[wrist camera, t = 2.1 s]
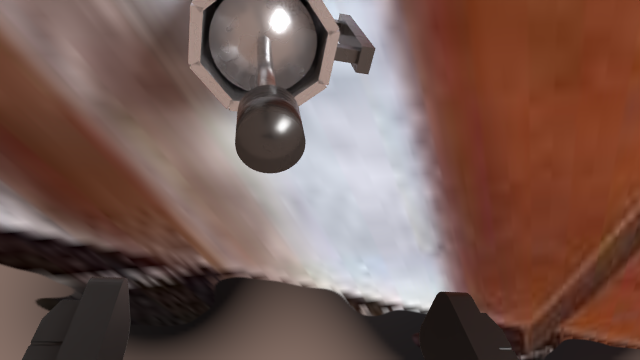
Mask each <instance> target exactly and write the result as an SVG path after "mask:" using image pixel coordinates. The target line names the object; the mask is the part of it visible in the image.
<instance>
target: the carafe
mask: <svg viewBox="0 0 640 360" xmlns="http://www.w3.org/2000/svg"><path fill="white" fill-rule="evenodd" d="M222 1H223V0H193V1H192V3H191V5H190V24H189V51H188V64H190V66H189V68H190V69H191V70H192V71H193V72H194V73H195V74H196V75H197V76H198V78H199V79H200V80H201V81H202V82H203V83H204V84H205V85H206V87H207V88H208V89H209V90H210V91H211V92H212V93H213V94H214V95H215V97H216V98H217V99H218V100H219V101H220V102H221V103H222V104H223V106H224V107H225V108H226V109H227V108H228V107H229V110H231V111H238V105H239V103H240V101H241V99H242V97H243V96H244V95H245V94H246V93H247V92H248V91H247V90H244V89H242V88H240V87H238V86H236V85H235V84H233V83H232V82H231V81H229V80H228V79H227V78H226V77H225V76H224V75H223V74H222V73H221V71H220V70H219V69H218V67H217V65H216V63H215V62H214V59H213V57H212V54H211V50H210V45H209V31H210V25H211V21H212V18H213V15H214V13H215V11H216V9H217V7H218V6H219V4H220V3H221V2H222ZM300 1H301V2H302V3H303V4H304V6H305V7H306V8H307V10H308V12H309V14H310V16H311V18H312V20H313V23H314V26H315V30H316V36H317V47H316V53H315V57H314V60H313V62H312V65H311V67H310V68H309V70H308V72H307V73H306V74H305V75H304V77H303V78H302V79H301V80H300V81H298V82H297V83H296V84H294V85H293V86H291V87H289V88H287V89H285V90H287V91H288V92H290V93H291V94H292V95H293V97H294V98H295V100H296V101H297V104H298V107H299V106H300V105H302V104H303V103H304V102H306V101H307V100H309V99H310V98H312V97H313V96H315V95H316V94H318V93H319V92H321V91H322V90H324V89H325V88H327V87H326V85H328V84H329V80H330V75H331V71H332V66H333V62H334V60H336V61H342V62H348V63H351V65H352V67H353V68H354V70H355V72H357V73H363V74H368V73H369V70H370V66H371V62H372V59H373V55H374V51H375V47H374V46H373V45H372V44H371V42H370V41H369V40H368V38H367V37H366V36H365V34H364V33H363V32H362V30H361V29H360V28H359V27H358V25H357V24H356V23H355V21H354V20H353V19H352V17H351V16H350V15H345V14H340V15H339V20H334V19H333V17H332V16H331V14H330V12H329V11H328V9H327V7H326V6H325V4H324V3H323V1H322V0H300ZM338 41H339V43H340V44H338Z"/></svg>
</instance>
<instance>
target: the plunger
mask: <svg viewBox="0 0 640 360" xmlns="http://www.w3.org/2000/svg"><path fill="white" fill-rule="evenodd" d="M209 45H210V50H211V54H212V57H213V59H214V62H215V63H216V65H217V67H218V69H219V70H220V71H221V73H222V74H223V75H224V76H225V77H226V78H227V79H228V80H229V81H231V82H232V83H233V84H235V85H236V86H238V87H240V88H242V89H244V90H247V91H248V92H247V93H246V94H245V95H244V96H243V97H242V99H241V101H240V103H239V105H238V111H237V125H236V139H235V146H236V151H237V154H238V156H239V157H240V159H241V160H242V161H243V163H245V164H246V165H247V166H248V167H250V168H251V169H253V170H256V171H258V172H262V173H278V172H282V171H285V170H287V169H289V168H291V167H292V166H293V165H295V164H296V163H297V162H298V161H299V159H300V158H301V156H302V155H303V152H304V149H305V136H304V131H303V126H302V121H301V116H300V111H299V107H298V104H297V101H296V100H295V98H294V97H293V95H292V94H291V93H290V92H288V91H287V90H285V89H287V88H289V87H291V86H293V85H294V84H296V83H297V82H298V81H300V80H301V79H302V78H303V77H304V75H305V74H306V73H307V72H308V70H309V68H310V67H311V65H312V62H313V60H314V57H315V53H316V47H317V36H316V30H315V26H314V23H313V20H312V18H311V16H310V14H309V12H308V10H307V8H306V7H305V6H304V4H303V3H302V2H301V1H300V0H223V1H222V2H221V3H220V4H219V6H218V7H217V9H216V11H215V13H214V15H213V18H212V21H211V25H210V31H209Z"/></svg>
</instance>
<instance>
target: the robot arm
mask: <svg viewBox="0 0 640 360" xmlns="http://www.w3.org/2000/svg"><path fill="white" fill-rule="evenodd" d="M129 330H130V308H129V291H128V280H127V278H114V277H92V278H91V279H90V280H89V282H88V284H87V286H86V289H85V291H84V293H83V296H82V298H81V300H61V301H60V302H59V303H58V304H57V305H56V306H55V307H54V308H53V309H52V310H51V311H50V312H49V313H48V314H47V315H46V316H45V317H44V318H43V319H42V320H41V322H40V324H39V326H38V328H37V330H36V333H35V335H34V337H33V339H32V341H31V345H30V346H29V347H28V349H27V351H26V353H25V355H24V357H23V359H22V360H123V357H124V353H125V350H126V346H127V342H128V336H129ZM419 340H420V347H421V350H422V353H423V356H424V359H425V360H519V359H518V358H517V356H516V354H515V352H514V351H512V350H511V348H512V347H511V345H510V343H509V342H508V340H507V338H506V336H505V335H504V333H503V331H502V329H501V328H500V327H499V326H498V325H497V324H496V323H495V322H494V321H493V320H492V319H491V318H490V317H489V316H488V315H487V314H486V313H480V311H479V309H478V308H477V306H476V304H475V302H474V300H473V299H472V297H471V296H470V295H469V294H468V293H460V292H439V293H438V294H437V295H436V297H435V299H434V301H433V303H432V305H431V307H430V309H429V311H428V313H427V315H426V317H425V319H424V321H423V323H422V325H421V329H420V334H419Z"/></svg>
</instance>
